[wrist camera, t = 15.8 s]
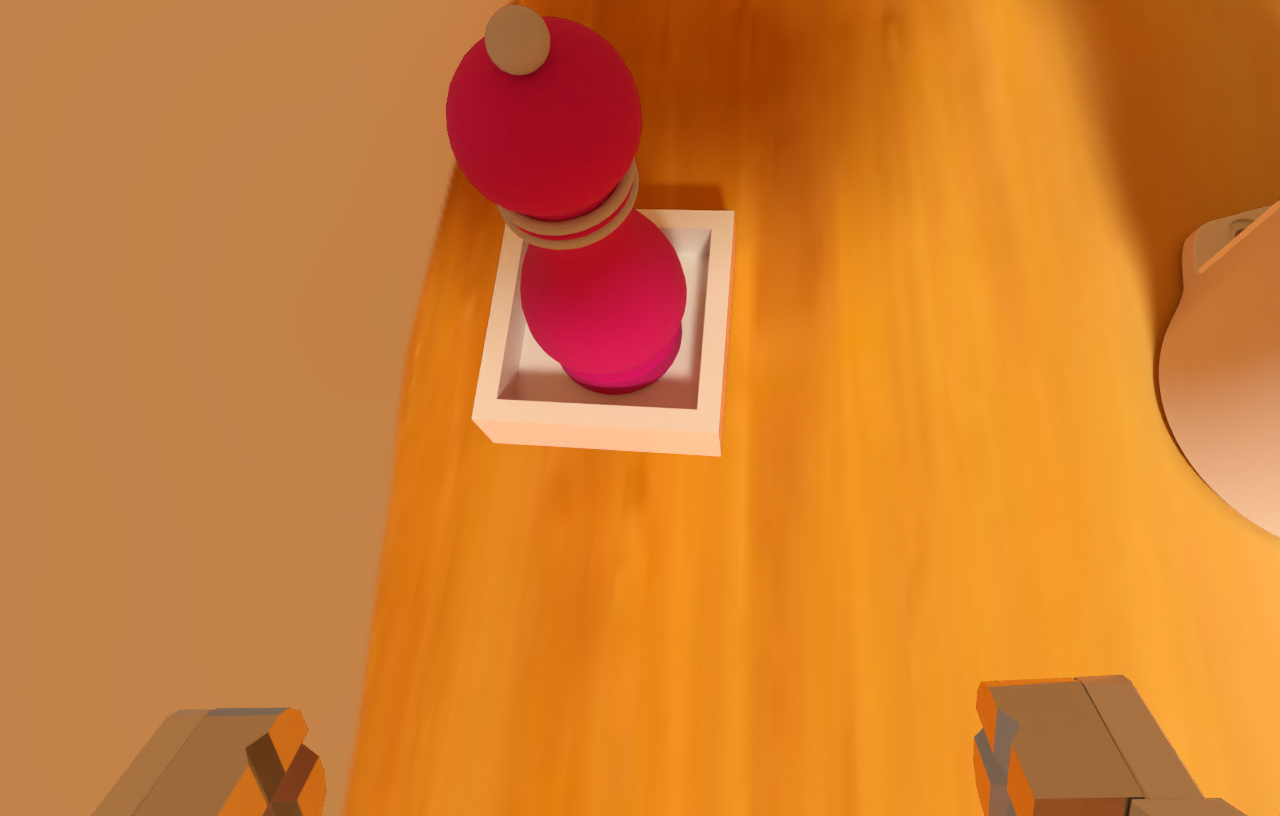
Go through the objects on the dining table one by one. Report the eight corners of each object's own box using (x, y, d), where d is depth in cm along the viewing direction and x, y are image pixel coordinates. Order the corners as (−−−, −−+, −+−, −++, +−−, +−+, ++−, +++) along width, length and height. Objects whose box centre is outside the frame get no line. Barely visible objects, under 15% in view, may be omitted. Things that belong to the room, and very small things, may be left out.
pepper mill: (533, 291, 42) (363, -46, 24) (672, 254, 42) (612, -116, 23) (560, 422, 40) (394, 160, 21) (709, 383, 39) (674, 83, 21)
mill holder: (735, 249, 43) (734, 210, 40) (721, 456, 39) (718, 432, 36) (526, 244, 44) (508, 206, 41) (493, 442, 41) (471, 418, 37)
